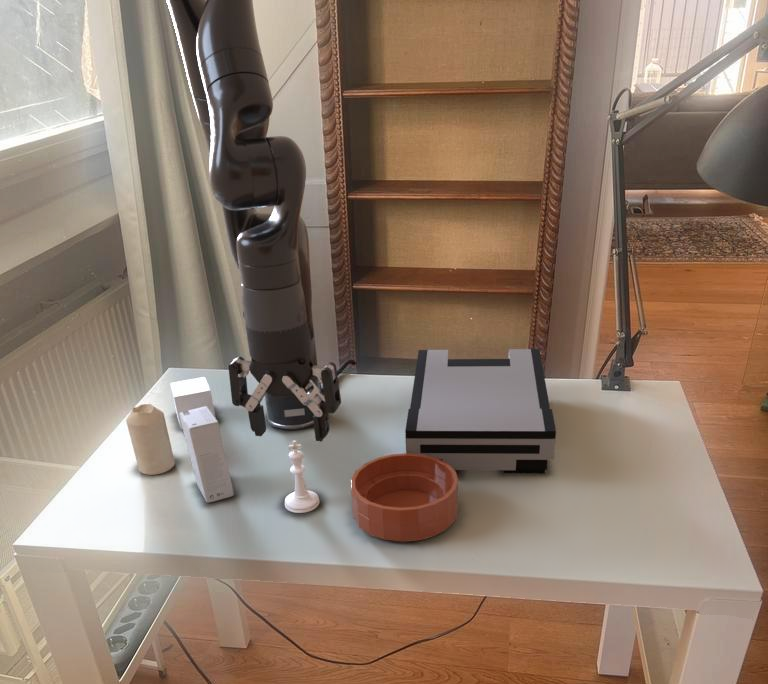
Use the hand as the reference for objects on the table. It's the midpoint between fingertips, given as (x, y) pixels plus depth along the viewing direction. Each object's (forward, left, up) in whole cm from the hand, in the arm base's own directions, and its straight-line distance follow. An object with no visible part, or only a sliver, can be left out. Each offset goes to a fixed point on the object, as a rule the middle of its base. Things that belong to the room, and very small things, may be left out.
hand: (290, 436), depth 104 cm
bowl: (0, +15, -11) cm, 19 cm away
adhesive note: (-22, -27, -11) cm, 37 cm away
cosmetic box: (-1, -14, -11) cm, 18 cm away
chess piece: (0, 0, -11) cm, 11 cm away
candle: (-6, -26, -11) cm, 29 cm away
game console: (-26, +21, -11) cm, 36 cm away
